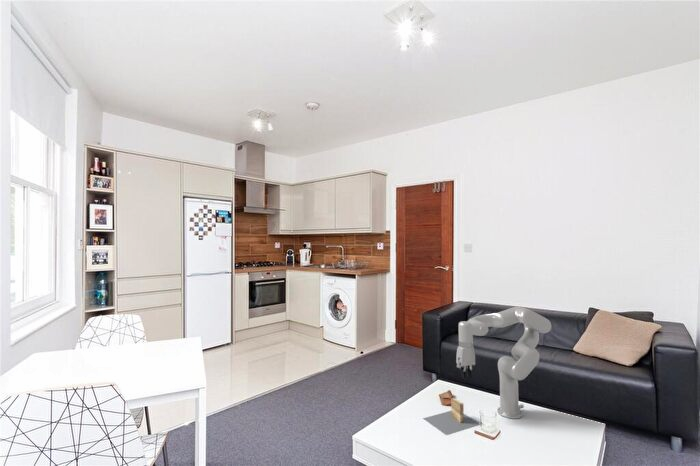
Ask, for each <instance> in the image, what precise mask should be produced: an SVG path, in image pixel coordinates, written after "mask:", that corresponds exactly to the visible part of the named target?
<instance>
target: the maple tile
mask: <svg viewBox="0 0 700 466" xmlns="http://www.w3.org/2000/svg"><path fill="white" fill-rule="evenodd" d="M450 411H451V417H452V418H453V419H455V420H456V421H458V422H459V423H462V422H464V414H465V412H464V402H462V401H461V400H459V399H457V398H454V397H453V399H451V406H450Z"/></svg>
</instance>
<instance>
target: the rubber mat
mask: <svg viewBox="0 0 700 466" xmlns="http://www.w3.org/2000/svg"><path fill="white" fill-rule="evenodd" d="M422 419H423V420H424V421H425V422H427V423H429V424H430V425H432V427H434V428H436V430H439V431H440V432H441V433H443V435H445V436H448V435H452V434H454V433H458V432H462V431H464V430H468V429H471V428H475V427H477V426H480V425H479V423H480V422H478V421H477V420H475V419H473V418H472V417H470V416H468V415H467V414H466V413H464V422H462V423H459V422H458V421H456V420H455V419H453V418H452V417H451V410H448V411H445V412H442V413H438V414H434V415H430V416H427V417H422Z"/></svg>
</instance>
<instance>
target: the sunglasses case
mask: <svg viewBox="0 0 700 466" xmlns="http://www.w3.org/2000/svg"><path fill="white" fill-rule="evenodd" d="M438 396H439V398H440V405H441V406H443V407H451V399H453V398H454V396H453V393H452V391H451V390H450V389H449V390H447V391H446V392H445V391H444V392H442V393H440V394H438Z"/></svg>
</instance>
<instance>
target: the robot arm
mask: <svg viewBox="0 0 700 466" xmlns="http://www.w3.org/2000/svg"><path fill="white" fill-rule="evenodd" d="M517 323H521V324H523V326H524V332H523V335H522V336H521V337H520V338H519V340H518V341H517V342H516V343H515V344H514V345H513V347H512V348H511V356H513V357H514V358H513V357H510V356H508V355H503V356H501V357H500V358H499V359H498V361H497V370H498V375H499V405H500V406H499V407H498V408H497V414H498V415H499V416H502V417H504V418H507V419H510V420H511V419H512V420H513V419H514V420H515V419H517V420H518V419H521V418H522V417H523V413H522V412H521V409H524V408H525V405H524V404H523V403H522V404H519V403H520V402H519V381H523V380H525V379H526V378H527V377H528V375H530V374H531V372H532V371H533V370H534V369H535V368H536V367H537V365H538V364H539V361H540V352H539V351H538V349H536V348H537V346H538V344H539V342H540V333H541V334H548V333H549V332H550V331H551V330H552V323H551V321H550V320H549V319H548V318H546V317H545V316H543V315H541V314H539V313H538V312H535V311H533V310H531V309H529V308H525V307H522V306H513V307H510V308H507V309H504V310H501V311H498V312H492V313H487V314H485V313H484V314H480V315H477V316H474V317H471V318H469V319H468V320H466V321H465V320H464V321H463V320H462V321H459V322H458V346H457V349H456V360H455V362H456V368H458V369H459V370H460V371H461V378H462V379H464V380H467V377H468V378H470V379H471V378H472V370H473V368H474V366H475V365H476V352H475V348H474V347H475V346H474V336H476V337H477V336H479V337H482V336H483V337H484V336H485V335H487V334H488V332H489V328H505V327H508V326H512V325H514V324H517ZM516 359H517V360H516Z"/></svg>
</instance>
